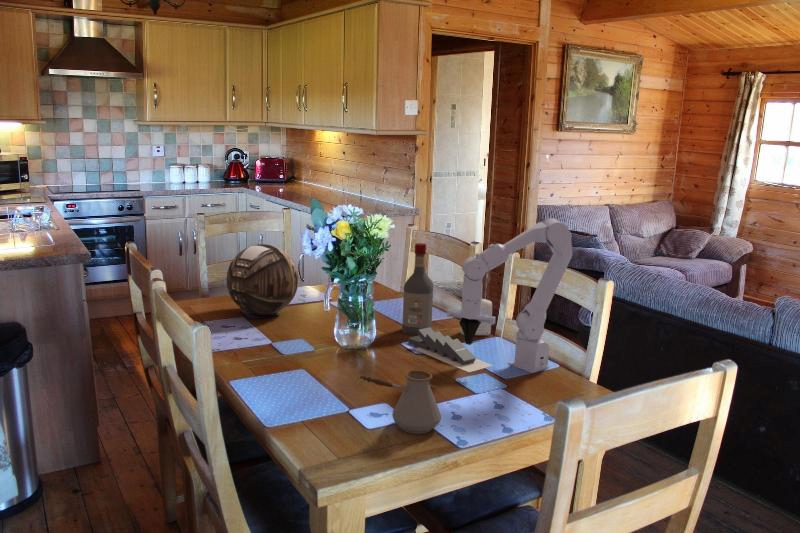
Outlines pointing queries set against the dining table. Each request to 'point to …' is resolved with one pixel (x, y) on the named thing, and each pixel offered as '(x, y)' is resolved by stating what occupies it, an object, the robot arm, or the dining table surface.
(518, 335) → the robot arm
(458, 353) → the domino
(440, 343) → the domino
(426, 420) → the coffee pot
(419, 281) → the liquor
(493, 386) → the dining table surface
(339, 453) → the dining table surface
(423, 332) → the domino
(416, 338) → the domino
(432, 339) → the domino
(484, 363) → the domino board
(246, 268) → the sphere
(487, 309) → the cream rounded block
